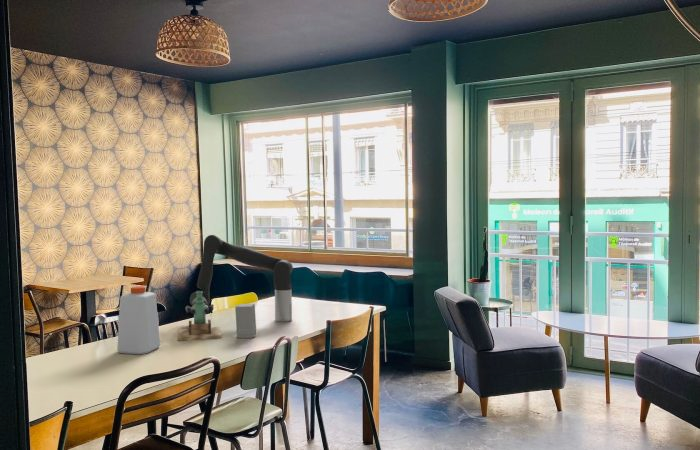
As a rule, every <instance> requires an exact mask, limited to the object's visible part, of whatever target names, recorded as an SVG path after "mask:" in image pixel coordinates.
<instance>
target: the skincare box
mask: <svg viewBox="0 0 700 450" xmlns="http://www.w3.org/2000/svg"><path fill="white" fill-rule="evenodd" d="M234 308H235V310H234V311H235V322H236V323H235V324H236V338H237V339H253V338H255V336H257V322H256V321H257V320H256V304H255V303H239V304H238V305H236V306H235V307H234Z"/></svg>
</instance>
